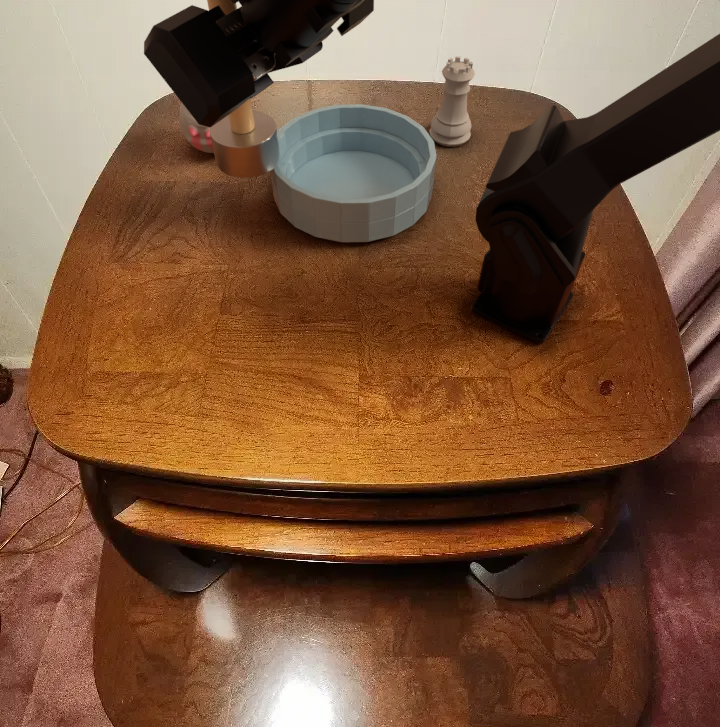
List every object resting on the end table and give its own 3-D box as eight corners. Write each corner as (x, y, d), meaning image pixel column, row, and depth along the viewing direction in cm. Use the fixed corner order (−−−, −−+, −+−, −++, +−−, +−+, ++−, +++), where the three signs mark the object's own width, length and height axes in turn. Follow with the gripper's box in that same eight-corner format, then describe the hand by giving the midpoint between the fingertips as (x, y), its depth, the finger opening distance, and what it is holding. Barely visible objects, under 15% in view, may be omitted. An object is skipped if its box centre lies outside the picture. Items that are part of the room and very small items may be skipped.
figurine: (176, 165, 63) (156, 90, 57) (196, 126, 67) (180, 53, 61) (238, 171, 63) (225, 96, 56) (255, 132, 67) (244, 58, 60)
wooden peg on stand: (292, 153, 55) (275, -20, 44) (252, 185, 52) (222, 10, 41) (244, 133, 57) (215, -38, 46) (202, 163, 54) (161, -11, 43)
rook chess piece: (469, 150, 65) (481, 76, 59) (426, 146, 65) (434, 72, 59) (471, 126, 68) (483, 53, 61) (430, 123, 68) (438, 49, 62)
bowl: (458, 182, 62) (465, 137, 58) (374, 270, 54) (376, 226, 50) (334, 132, 67) (333, 87, 63) (242, 206, 59) (234, 161, 55)
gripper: (337, -214, 39) (233, -53, 52) (115, -138, 30) (54, 36, 42) (434, -46, 43) (315, 66, 55) (262, 68, 34) (166, 172, 46)
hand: (223, 81), depth 50 cm, fingers closed on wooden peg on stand
